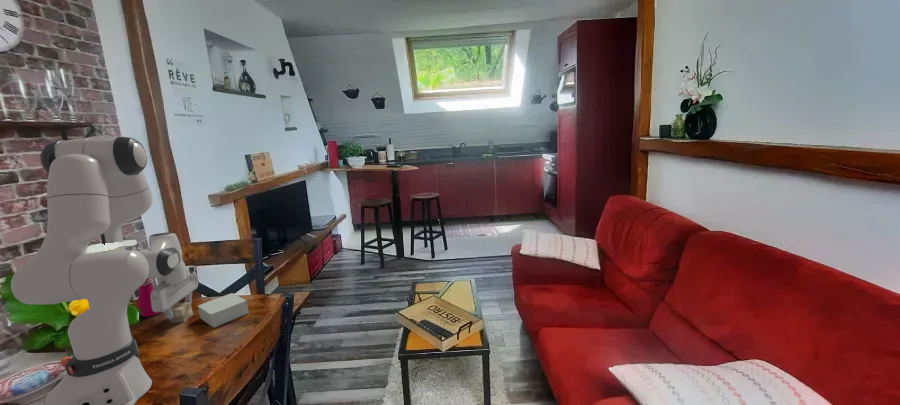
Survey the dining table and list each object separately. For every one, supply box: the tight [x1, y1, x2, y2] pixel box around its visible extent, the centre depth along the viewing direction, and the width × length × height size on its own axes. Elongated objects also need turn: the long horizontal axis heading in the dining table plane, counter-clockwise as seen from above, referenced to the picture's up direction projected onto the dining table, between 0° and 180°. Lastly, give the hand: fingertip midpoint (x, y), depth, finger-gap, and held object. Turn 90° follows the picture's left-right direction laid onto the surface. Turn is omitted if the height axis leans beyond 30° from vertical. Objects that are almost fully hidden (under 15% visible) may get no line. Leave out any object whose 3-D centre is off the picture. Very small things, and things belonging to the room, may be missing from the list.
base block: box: [197, 292, 250, 329], centre depth 141 cm, size 12×12×5 cm
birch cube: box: [169, 302, 194, 323], centre depth 141 cm, size 5×5×5 cm
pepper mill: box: [136, 278, 161, 318], centre depth 145 cm, size 7×7×20 cm
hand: (180, 311), depth 141 cm, fingers open, 8 cm apart
